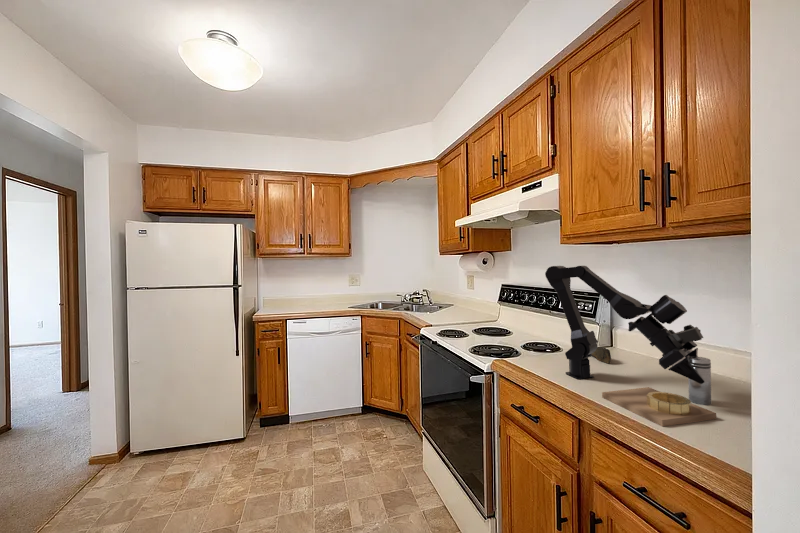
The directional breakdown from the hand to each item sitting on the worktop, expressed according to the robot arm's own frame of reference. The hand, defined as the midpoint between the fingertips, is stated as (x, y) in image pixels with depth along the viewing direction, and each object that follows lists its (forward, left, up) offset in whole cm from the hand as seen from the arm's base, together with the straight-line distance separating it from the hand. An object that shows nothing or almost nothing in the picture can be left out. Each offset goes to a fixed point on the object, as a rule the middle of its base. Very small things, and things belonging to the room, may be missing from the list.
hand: (706, 379), depth 97 cm
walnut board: (-1, -16, -7) cm, 17 cm away
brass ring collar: (+3, -16, -5) cm, 17 cm away
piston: (-1, -1, -7) cm, 7 cm away
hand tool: (-49, +6, -7) cm, 50 cm away
